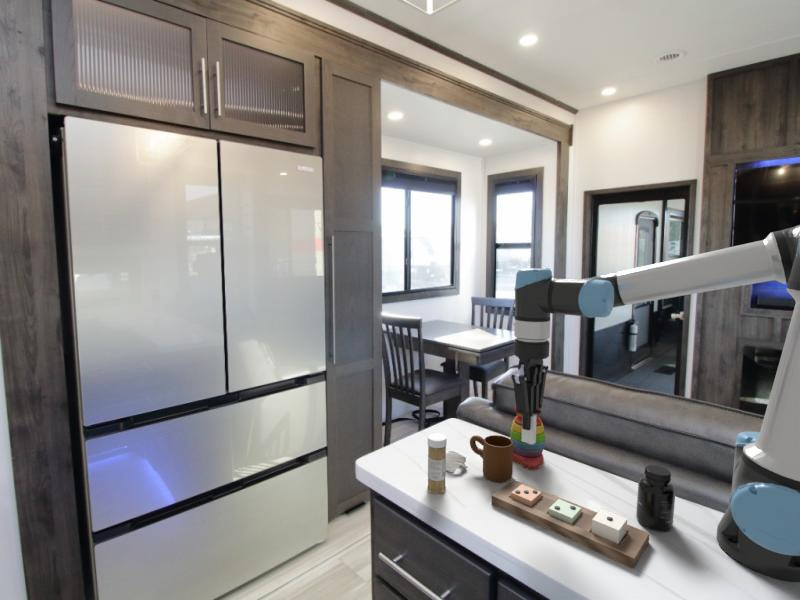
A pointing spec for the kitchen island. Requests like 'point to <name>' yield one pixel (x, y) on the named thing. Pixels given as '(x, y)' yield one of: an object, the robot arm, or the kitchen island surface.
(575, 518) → the two-pip button
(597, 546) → the button board
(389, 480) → the kitchen island surface
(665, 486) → the supplement bottle
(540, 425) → the stacking bear
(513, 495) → the three-pip button
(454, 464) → the crumpled white paper
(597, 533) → the one-pip button
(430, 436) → the sprinkles bottle
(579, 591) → the kitchen island surface
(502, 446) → the mug
